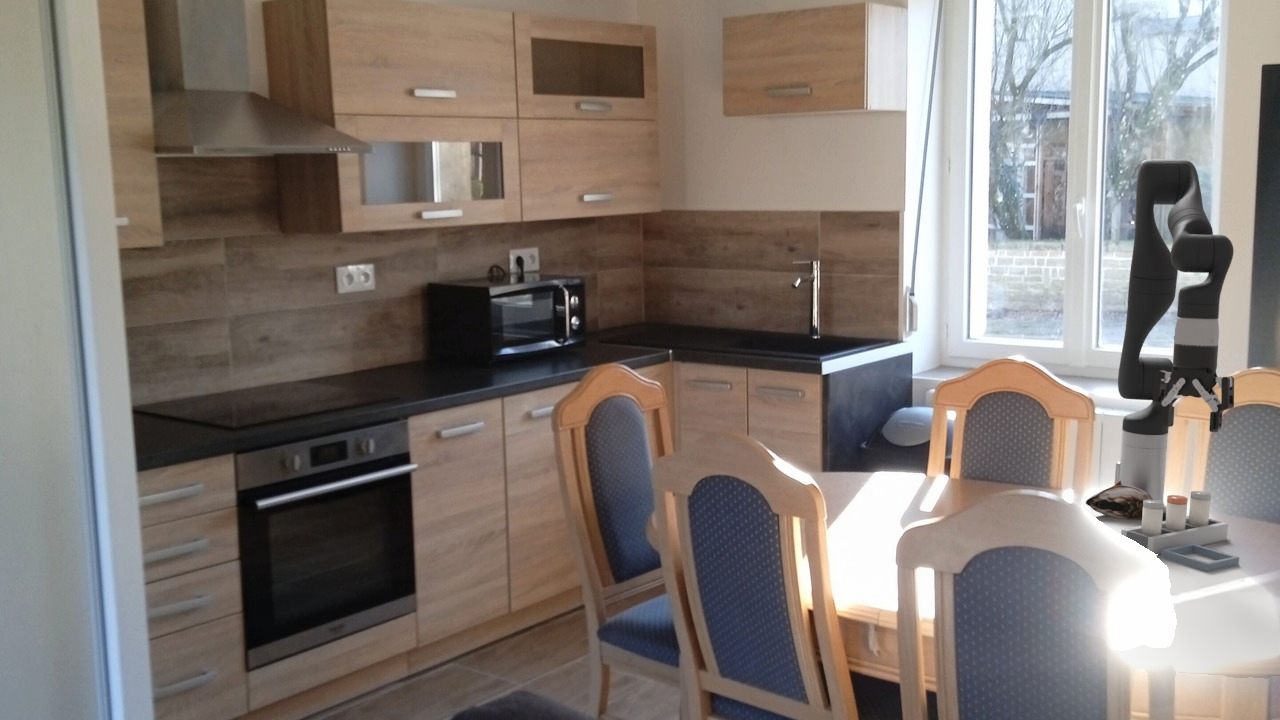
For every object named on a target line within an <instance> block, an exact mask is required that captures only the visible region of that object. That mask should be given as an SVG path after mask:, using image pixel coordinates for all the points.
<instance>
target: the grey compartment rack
mask: <svg viewBox="0 0 1280 720" xmlns="http://www.w3.org/2000/svg"><path fill="white" fill-rule="evenodd" d="M1165 522H1166V521H1162V533H1161V535H1157V536H1153V537H1151V536H1148V535H1144V534H1141V526H1142V525H1138V526H1132V527H1127V528H1121V532H1120V535H1121V534H1122V535H1124V536H1126V537H1128V538H1130V539H1132V540H1134V541H1136V542H1137V543H1139V544H1140V545H1142V546H1144V547H1145V548H1147V549H1149V550H1150V551H1152V552H1154V553H1155V554H1158V556H1157V557H1161V554H1162V550H1164V549H1169V548H1174V547H1178V546H1183V545H1188V544H1196V545H1199V546H1202V547H1206V546H1212V545H1215V544H1221V543H1225V542H1229V541H1231V539H1229V538H1228V527H1229V524H1228V523H1227V522H1223V521H1219V520H1215V519H1212V518H1209V525H1207V526H1202V527H1198V526H1194V525H1191V524H1188V523H1189V515H1188V516H1186V527H1185V530H1182V531H1177V532H1175V531H1172V530H1168V529H1165Z"/></svg>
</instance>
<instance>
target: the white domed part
mask: <svg viewBox="0 0 1280 720" xmlns="http://www.w3.org/2000/svg"><path fill="white" fill-rule="evenodd" d="M1211 499H1212V493H1210V492H1207V491H1204V490H1203V491H1202V490H1191V491H1190V500H1189V501H1190V502H1189V511H1188V512H1189V513H1188V516H1189V523H1188V524H1191V525H1194V526H1198V527H1202V526H1207V525H1209V519H1210V511H1211V510H1210V509H1211V501H1212V500H1211Z"/></svg>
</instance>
